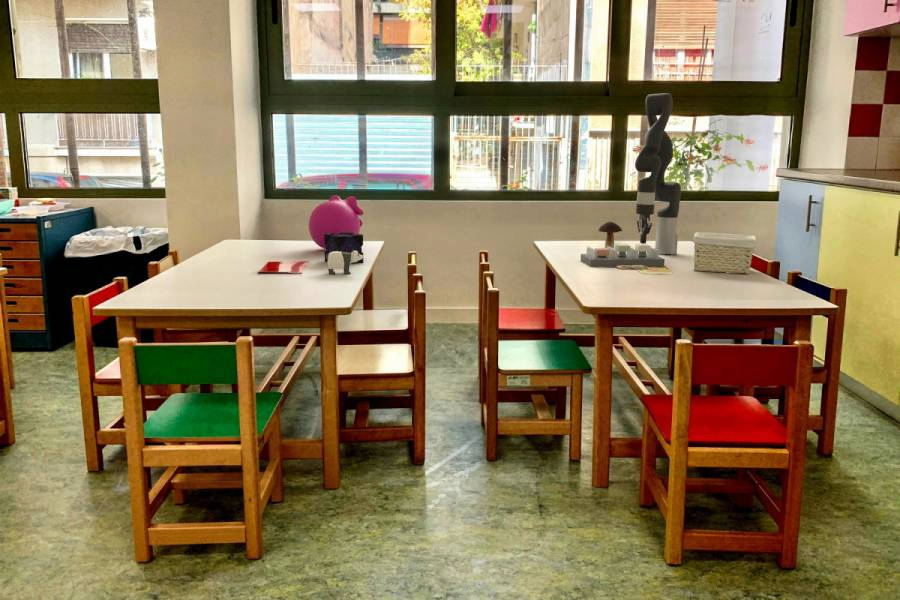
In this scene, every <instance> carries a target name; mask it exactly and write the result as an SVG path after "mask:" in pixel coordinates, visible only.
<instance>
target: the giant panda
mask: <svg viewBox="0 0 900 600" xmlns="http://www.w3.org/2000/svg"><path fill="white" fill-rule="evenodd" d="M362 258H363V259H364V254H363V255H360V254H359V253H358V252H357V251H354V250H352V252H351V253H347V252H338V251H335V252H330V253H329V254H327V255H326V259H328V262H327V270H328V275H330V276H331V275H333V276H335V275H336V271H335V270H340V269H341V270H343V274H344V275H351V274H352V273H351V271H350V267H351V264H353V262H357V261H359V260H361V259H362Z"/></svg>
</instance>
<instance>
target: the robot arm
mask: <svg viewBox="0 0 900 600" xmlns="http://www.w3.org/2000/svg"><path fill="white" fill-rule="evenodd" d="M645 97H646V98H645V112H646V117H647V118H646V119H647V123H648V128H649V129H648V130H647V132H646V134H645V136H644V140H643V144H642V148H641V150H640V152H639V153H638V155H637V156H636V158H635V163H634V167H635V170H636V171H637V172H640V173H650V175H649V176H647V177H641V178H639V179H638V182H637V183H638V185H637V194H636V204H635V205H636V207H635V214H636V215H639V216H638V220H636V225H637V230H638V233H639V235H640V236H639V237H640V239H639V243H640V244H647V235H650V232H651V230H652V229H651V228H652V226H653V223H652V222H651V215H652V216H653V215H654V214H655V206H656V205H655V204H656V203H655V202H656V200H657V201H658V202H661V203H663V202H664V203H668V206H666V207H665V208H662V209H659V210H658V211H657V217H656V229H655V231H656V232H655V243H654V245H655V246H654V247H655V248H654V249H657V250H659V255H665V254H671V255H677V254H678V253H677V252H678V244H679V241H678V239H679V233H677V230H678V217H679V212H680V211H679V210H680V203H681V197H682V196H681V195H682V186H681V184H680V183H679V182H674V181H665V173H666V172H667V171H666V170H667V169H668V167H669V166H670V164H671V162H672V160H673V158H674V149H673V148H674V146H673V141H672V139H671V137H670V135H669V134H668V133H667V132H666V131H665V130H666V127H667V125H668V123H669V119H670V116H671V115H672V110H673V106H674V105H673V104H674V102H673V101H674V100H673V97H672V94H671V93H669V92H666V93H665V92H664V93H663V92H662V93H651V94H647V96H645ZM658 116H659V117H658Z"/></svg>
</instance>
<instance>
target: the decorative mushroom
mask: <svg viewBox="0 0 900 600" xmlns="http://www.w3.org/2000/svg"><path fill="white" fill-rule="evenodd" d="M597 231H598V232H600V233H601V232H602V233H606V236H605V243H604V248H607V247H611V248H614V249H615V238H614V236H615V235H614V234H615V233H619V232H623V229H622V227H621V226H619V224H617V223H616V222H613V221H608V222H605V223H604V224H602V225H601V226H600V227H599V228H598V230H597Z"/></svg>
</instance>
